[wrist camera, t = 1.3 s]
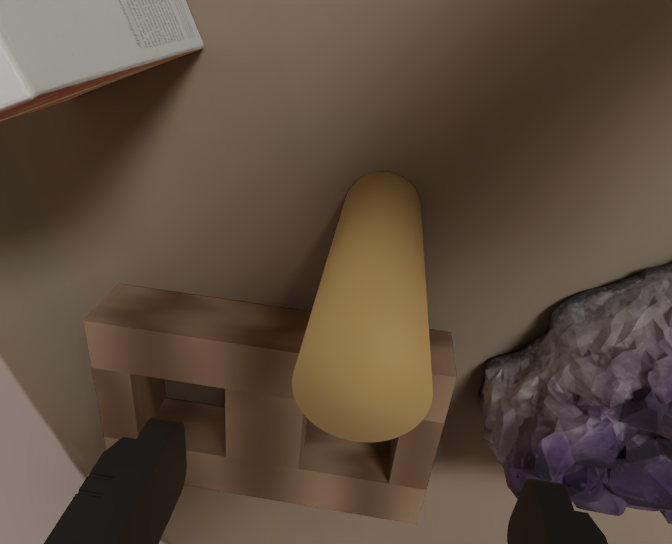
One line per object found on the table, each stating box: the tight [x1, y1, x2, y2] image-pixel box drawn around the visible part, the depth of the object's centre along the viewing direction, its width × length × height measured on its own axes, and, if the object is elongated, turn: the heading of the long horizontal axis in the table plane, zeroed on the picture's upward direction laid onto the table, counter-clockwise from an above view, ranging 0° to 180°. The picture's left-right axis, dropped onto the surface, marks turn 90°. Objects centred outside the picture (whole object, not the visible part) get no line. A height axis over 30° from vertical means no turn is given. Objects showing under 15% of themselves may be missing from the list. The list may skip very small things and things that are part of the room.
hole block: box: [83, 284, 457, 524], centre depth 32 cm, size 20×12×4 cm, turn 84°
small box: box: [0, 0, 204, 122], centre depth 18 cm, size 8×6×13 cm
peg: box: [292, 172, 433, 442], centre depth 21 cm, size 4×4×14 cm
